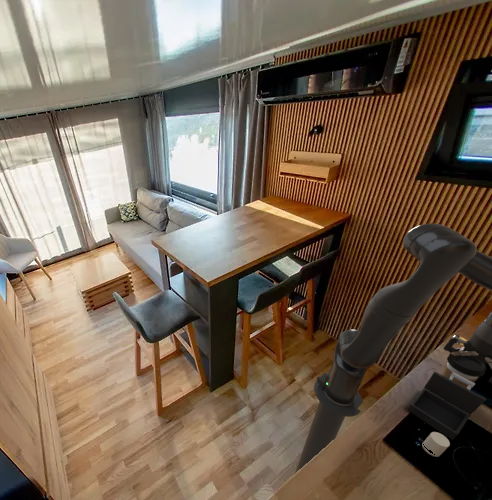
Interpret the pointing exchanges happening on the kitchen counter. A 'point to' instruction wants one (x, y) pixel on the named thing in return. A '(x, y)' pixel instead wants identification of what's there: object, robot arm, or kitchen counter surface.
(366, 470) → the kitchen counter surface
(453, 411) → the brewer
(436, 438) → the cylinder
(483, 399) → the lid
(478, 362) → the coffee cup
